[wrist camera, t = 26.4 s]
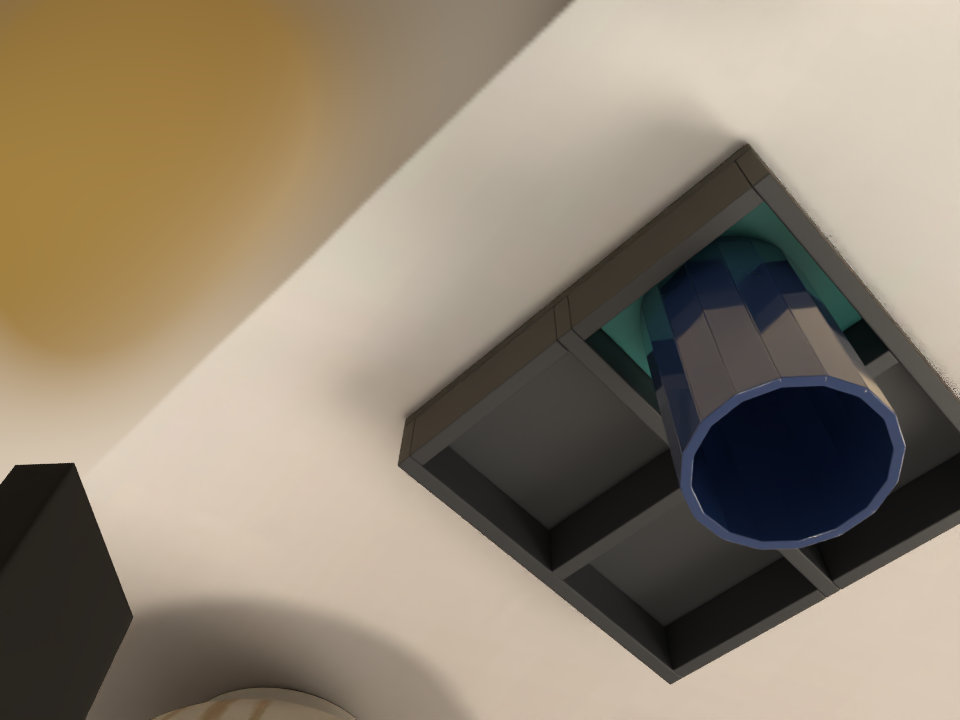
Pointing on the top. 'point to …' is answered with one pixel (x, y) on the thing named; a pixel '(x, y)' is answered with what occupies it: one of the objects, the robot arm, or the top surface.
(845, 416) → the cup
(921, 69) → the top surface
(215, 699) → the decorative bowl
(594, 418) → the tray
